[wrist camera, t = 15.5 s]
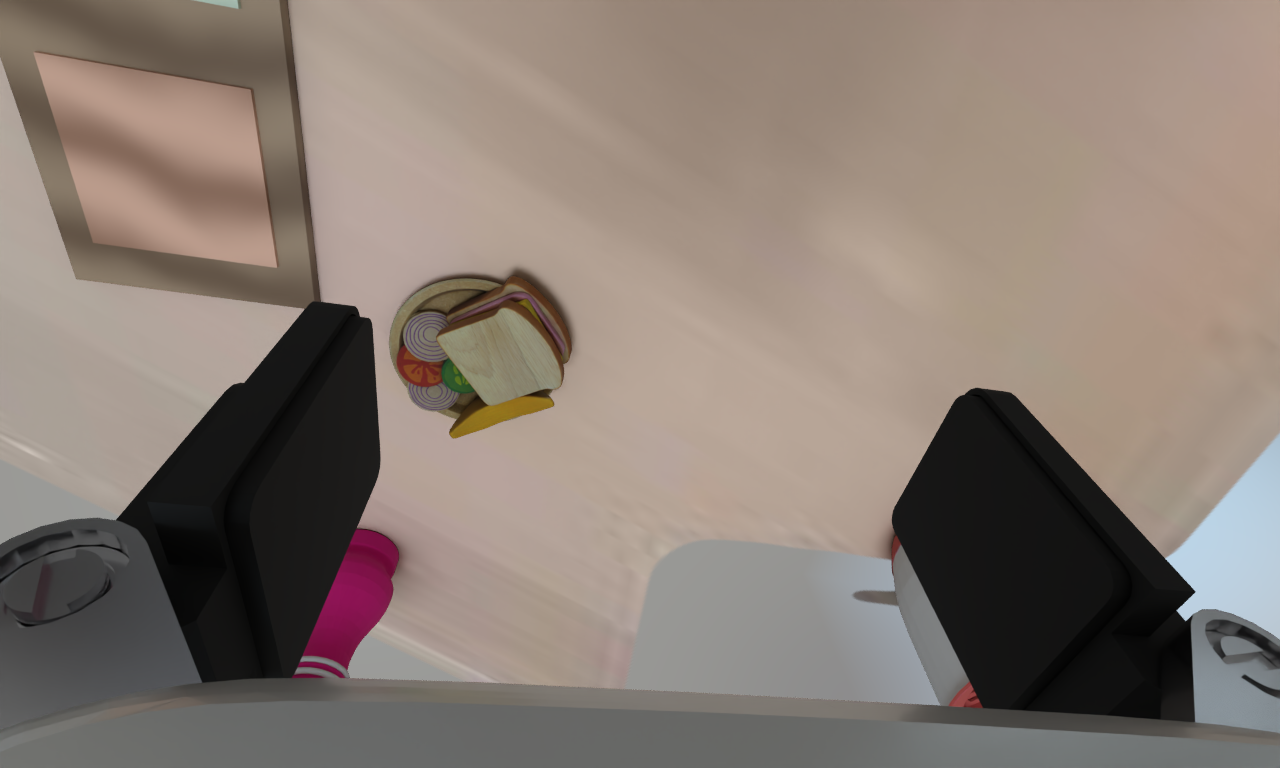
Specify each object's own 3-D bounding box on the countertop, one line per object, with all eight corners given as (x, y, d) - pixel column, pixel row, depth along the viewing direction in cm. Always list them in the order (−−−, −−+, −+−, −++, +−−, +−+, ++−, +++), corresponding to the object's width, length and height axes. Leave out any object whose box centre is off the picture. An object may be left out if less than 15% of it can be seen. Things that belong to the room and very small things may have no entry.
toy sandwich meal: (360, 301, 45) (337, 334, 41) (536, 244, 44) (530, 274, 40) (442, 431, 52) (429, 470, 48) (597, 386, 51) (597, 423, 47)
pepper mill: (308, 534, 58) (191, 767, 41) (381, 517, 57) (292, 747, 41) (349, 583, 62) (257, 813, 45) (418, 567, 61) (350, 796, 45)
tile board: (-156, -462, 25) (-190, -480, 24) (247, -355, 27) (233, -368, 26) (86, 272, 43) (73, 281, 42) (320, 303, 45) (313, 312, 44)
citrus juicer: (837, 587, 66) (915, 800, 50) (915, 463, 57) (1044, 675, 40) (970, 603, 69) (1086, 810, 52) (1066, 487, 59) (1244, 695, 43)
